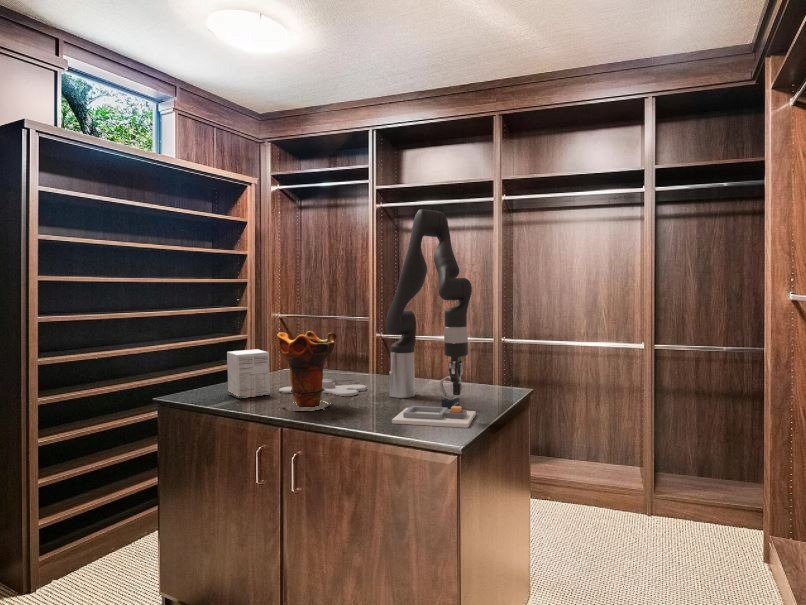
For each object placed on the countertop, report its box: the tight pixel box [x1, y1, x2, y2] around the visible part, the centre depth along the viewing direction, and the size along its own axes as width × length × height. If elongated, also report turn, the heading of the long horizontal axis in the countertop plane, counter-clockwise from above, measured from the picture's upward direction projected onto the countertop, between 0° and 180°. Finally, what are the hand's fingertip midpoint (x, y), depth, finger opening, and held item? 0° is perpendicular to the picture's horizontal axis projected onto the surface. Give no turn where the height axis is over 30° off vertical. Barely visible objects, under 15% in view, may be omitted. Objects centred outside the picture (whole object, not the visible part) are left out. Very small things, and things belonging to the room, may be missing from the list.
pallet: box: [391, 405, 477, 429], centre depth 181 cm, size 24×17×3 cm
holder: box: [278, 378, 368, 396], centre depth 231 cm, size 19×34×5 cm, turn 73°
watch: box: [439, 375, 463, 410], centre depth 197 cm, size 6×8×11 cm
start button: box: [451, 405, 463, 413], centre depth 179 cm, size 3×3×2 cm
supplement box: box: [226, 348, 271, 397], centre depth 224 cm, size 13×13×18 cm
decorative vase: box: [276, 330, 337, 409], centre depth 202 cm, size 21×23×28 cm
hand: (456, 394), depth 179 cm, fingers closed
